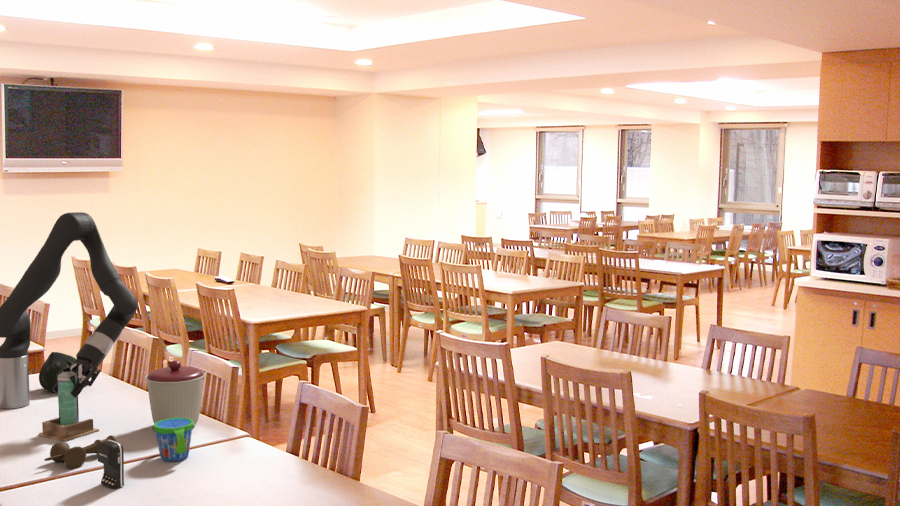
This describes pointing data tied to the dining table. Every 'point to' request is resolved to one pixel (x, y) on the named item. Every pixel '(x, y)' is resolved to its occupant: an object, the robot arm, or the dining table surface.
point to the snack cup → (174, 438)
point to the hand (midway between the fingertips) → (63, 393)
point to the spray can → (67, 397)
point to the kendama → (74, 453)
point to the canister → (175, 392)
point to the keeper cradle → (67, 429)
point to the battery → (111, 463)
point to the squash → (53, 369)
